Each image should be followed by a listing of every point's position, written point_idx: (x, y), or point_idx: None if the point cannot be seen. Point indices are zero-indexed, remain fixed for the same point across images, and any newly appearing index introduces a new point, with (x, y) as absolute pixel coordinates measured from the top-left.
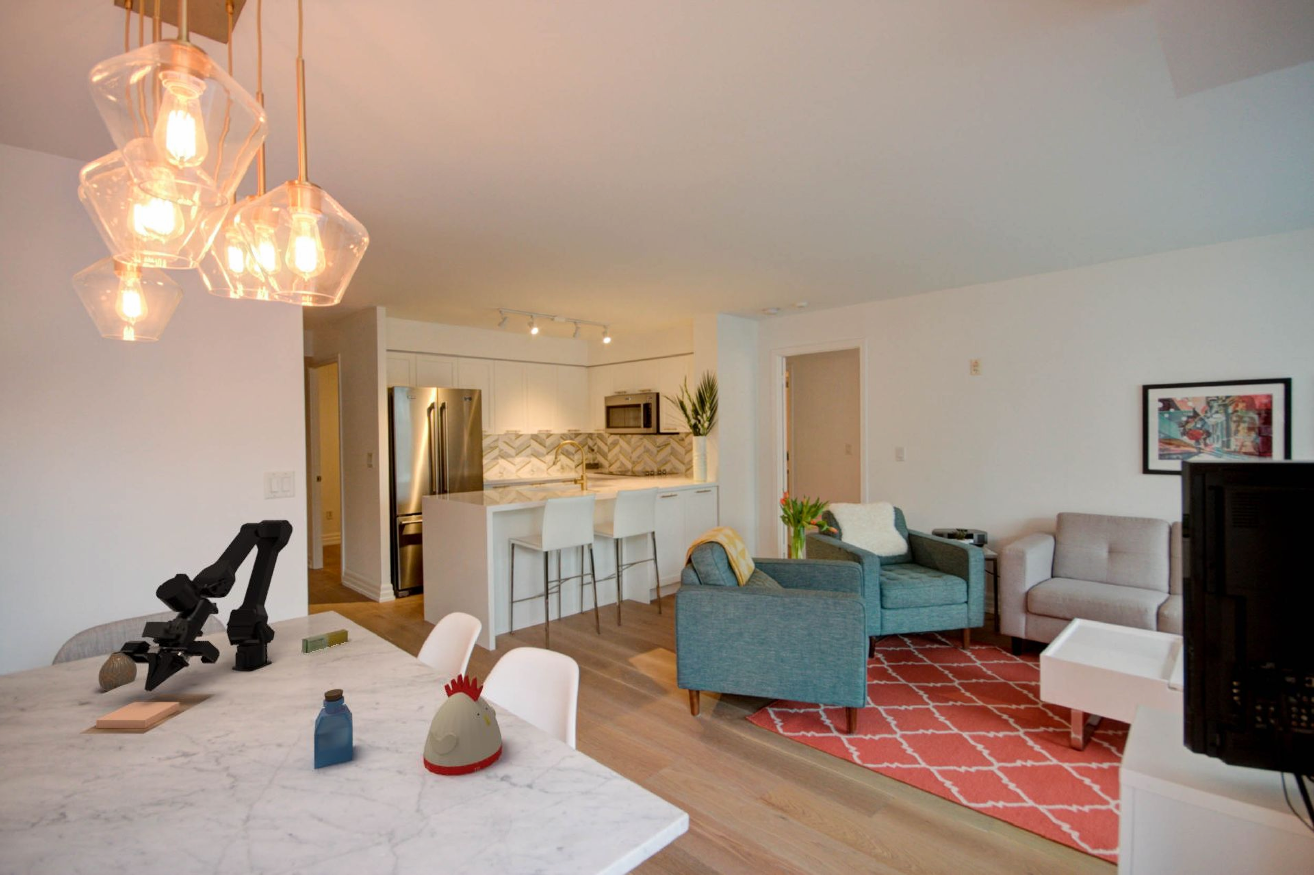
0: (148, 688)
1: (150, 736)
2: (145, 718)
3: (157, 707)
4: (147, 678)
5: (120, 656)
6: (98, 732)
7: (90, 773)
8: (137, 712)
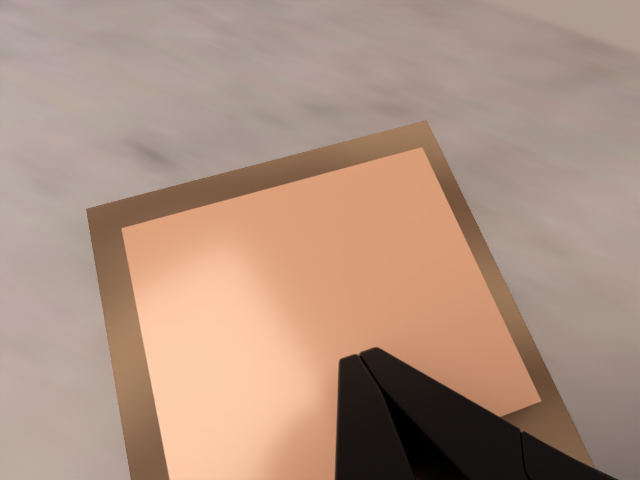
0: (340, 361)
1: None
2: (145, 245)
3: (255, 396)
4: (448, 398)
5: None
6: (345, 149)
7: (49, 7)
8: (301, 288)
